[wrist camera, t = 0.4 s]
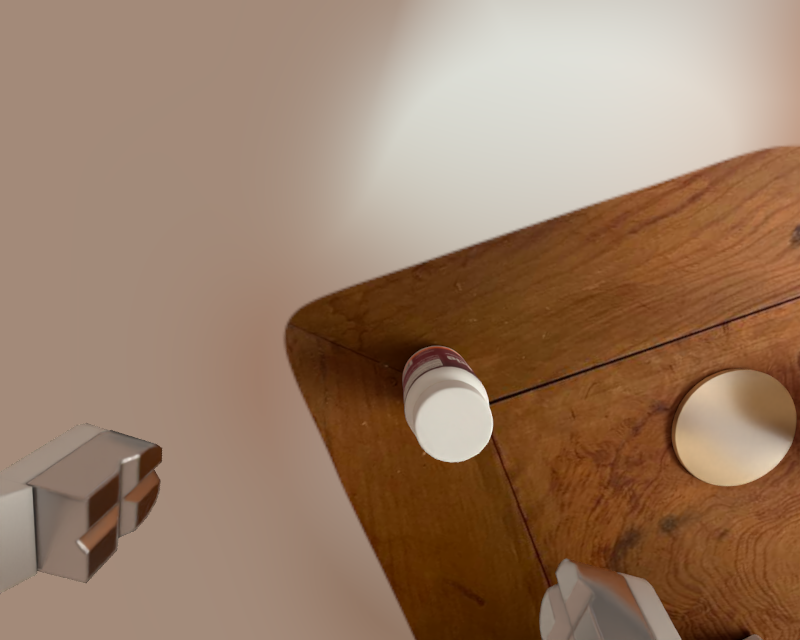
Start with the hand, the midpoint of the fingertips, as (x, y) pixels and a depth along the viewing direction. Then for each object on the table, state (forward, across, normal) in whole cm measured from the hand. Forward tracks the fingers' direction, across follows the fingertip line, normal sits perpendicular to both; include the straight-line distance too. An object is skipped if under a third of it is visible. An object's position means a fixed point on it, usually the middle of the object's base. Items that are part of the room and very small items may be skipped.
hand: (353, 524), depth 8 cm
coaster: (+22, -25, +4) cm, 33 cm away
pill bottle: (+20, -3, +5) cm, 21 cm away
